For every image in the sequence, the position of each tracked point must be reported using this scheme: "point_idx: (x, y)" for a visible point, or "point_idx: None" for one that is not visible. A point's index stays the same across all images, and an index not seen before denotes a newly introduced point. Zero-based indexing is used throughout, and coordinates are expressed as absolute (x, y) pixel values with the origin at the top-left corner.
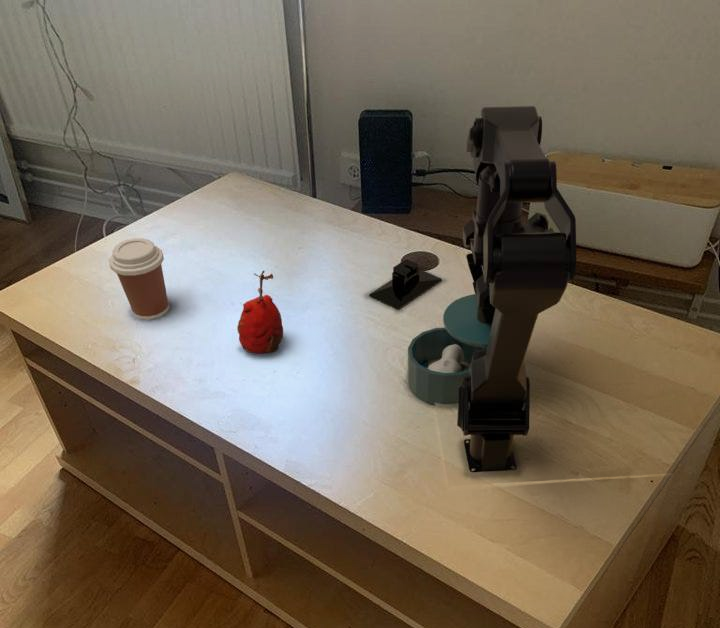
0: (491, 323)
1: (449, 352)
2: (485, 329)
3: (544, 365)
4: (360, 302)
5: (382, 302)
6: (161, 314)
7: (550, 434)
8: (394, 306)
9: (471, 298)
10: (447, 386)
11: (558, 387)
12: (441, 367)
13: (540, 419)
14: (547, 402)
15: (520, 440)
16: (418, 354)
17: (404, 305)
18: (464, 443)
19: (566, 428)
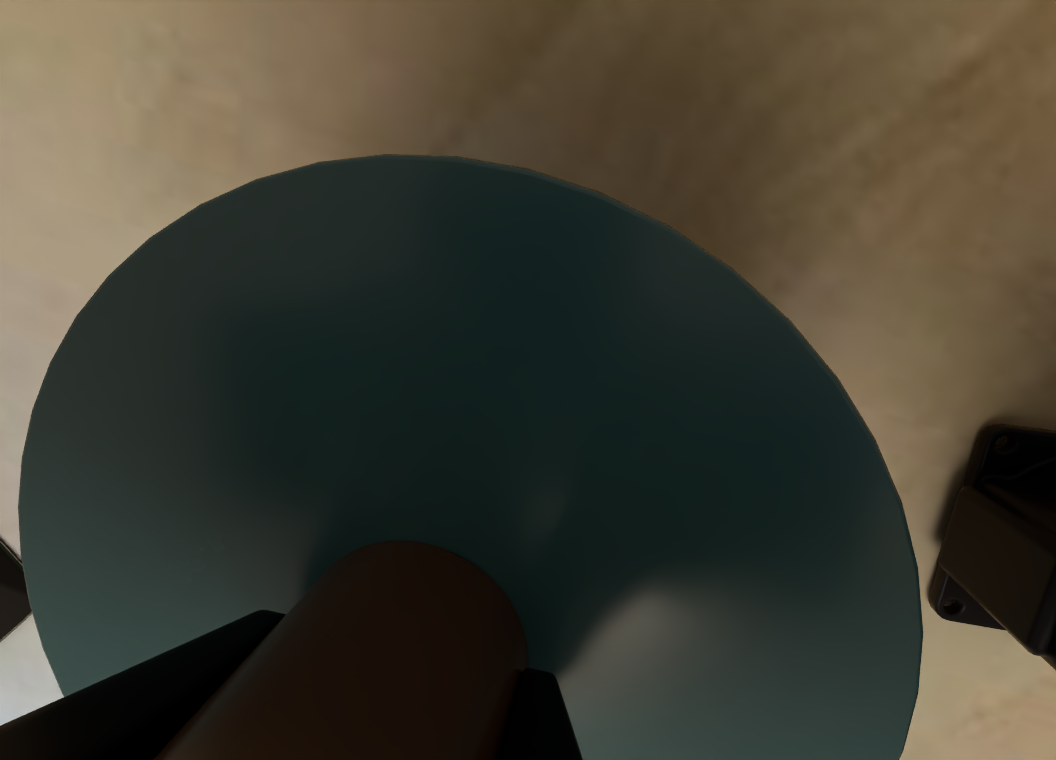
0: (527, 655)
1: None
2: (610, 735)
3: (476, 72)
4: (8, 701)
5: (6, 636)
6: None
7: (1017, 205)
8: (30, 608)
9: (98, 665)
10: None
11: (665, 47)
12: None
13: (885, 222)
14: (767, 145)
15: (1003, 365)
16: None
17: (21, 567)
18: (962, 621)
19: (1004, 103)
